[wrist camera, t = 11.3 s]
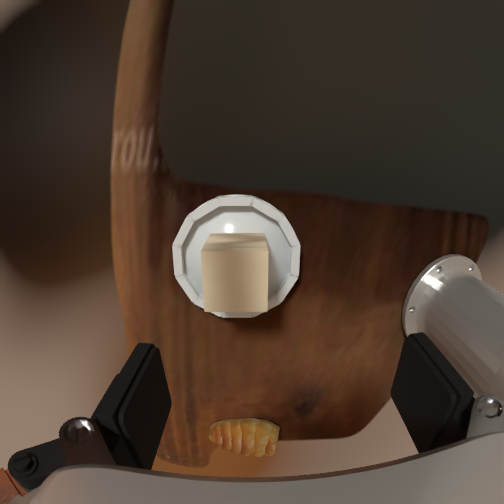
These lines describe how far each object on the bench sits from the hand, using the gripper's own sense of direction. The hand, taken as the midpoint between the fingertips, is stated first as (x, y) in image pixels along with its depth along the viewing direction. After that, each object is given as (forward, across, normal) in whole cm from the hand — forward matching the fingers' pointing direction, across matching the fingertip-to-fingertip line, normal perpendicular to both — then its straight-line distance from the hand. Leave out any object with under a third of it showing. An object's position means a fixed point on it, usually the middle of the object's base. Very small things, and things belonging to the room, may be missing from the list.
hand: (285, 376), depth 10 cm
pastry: (+20, +3, +27) cm, 34 cm away
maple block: (+19, +3, +1) cm, 19 cm away
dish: (+19, +3, +1) cm, 20 cm away
